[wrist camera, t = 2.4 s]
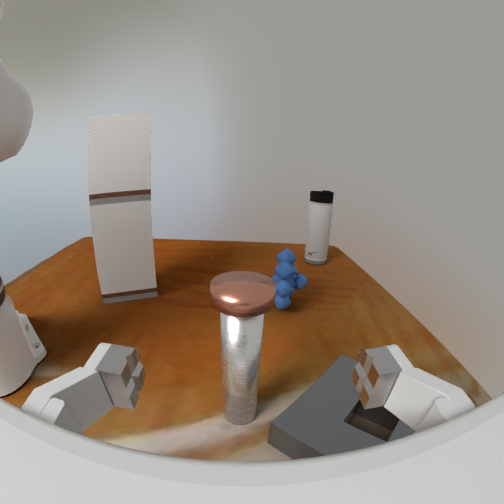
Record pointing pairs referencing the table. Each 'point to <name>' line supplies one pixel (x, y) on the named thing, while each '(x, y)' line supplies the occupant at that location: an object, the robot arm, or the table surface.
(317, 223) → the travel mug
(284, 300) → the grapes
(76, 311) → the table surface
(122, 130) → the striped white pillar
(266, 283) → the steel pin
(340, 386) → the block
